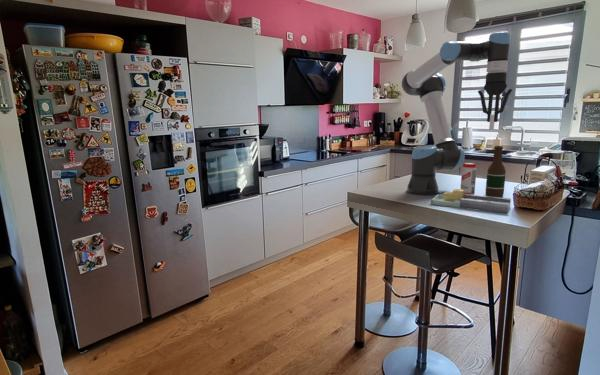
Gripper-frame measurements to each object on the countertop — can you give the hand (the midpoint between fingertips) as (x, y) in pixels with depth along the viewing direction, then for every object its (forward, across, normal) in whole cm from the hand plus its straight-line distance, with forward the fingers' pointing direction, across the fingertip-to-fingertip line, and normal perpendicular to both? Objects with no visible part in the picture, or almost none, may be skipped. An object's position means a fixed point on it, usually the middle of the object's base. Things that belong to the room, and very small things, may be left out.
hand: (491, 129), depth 155 cm
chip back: (+30, -12, -8) cm, 33 cm away
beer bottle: (+33, +2, +14) cm, 36 cm away
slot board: (+32, +1, -8) cm, 33 cm away
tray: (+32, -14, -8) cm, 36 cm away
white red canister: (+33, -9, +9) cm, 35 cm away
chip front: (+30, -10, -8) cm, 33 cm away
